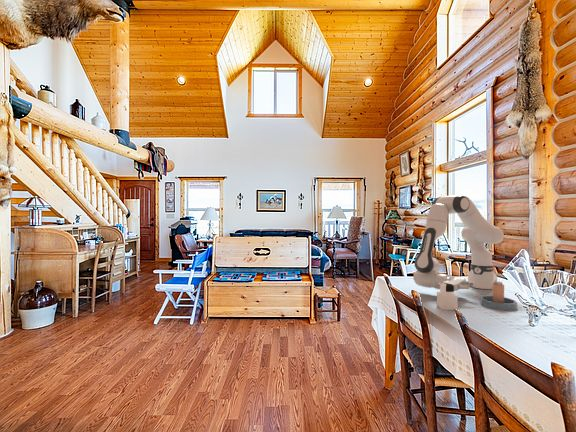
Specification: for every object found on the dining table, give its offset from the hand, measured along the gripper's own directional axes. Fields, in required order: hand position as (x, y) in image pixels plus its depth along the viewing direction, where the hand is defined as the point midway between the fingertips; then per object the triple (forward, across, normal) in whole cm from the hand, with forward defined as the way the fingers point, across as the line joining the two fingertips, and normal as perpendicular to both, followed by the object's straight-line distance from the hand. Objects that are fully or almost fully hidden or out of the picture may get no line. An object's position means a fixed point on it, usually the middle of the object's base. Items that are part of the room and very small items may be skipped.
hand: (471, 286), depth 162 cm
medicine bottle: (-6, -22, +8) cm, 24 cm away
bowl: (+12, 0, +8) cm, 14 cm away
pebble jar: (+12, 0, +7) cm, 14 cm away
